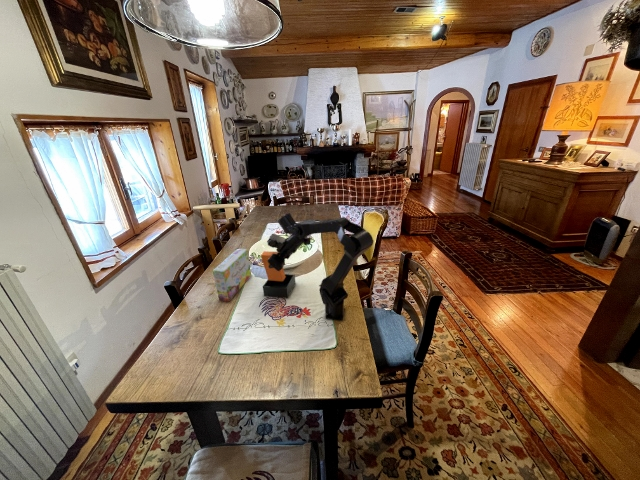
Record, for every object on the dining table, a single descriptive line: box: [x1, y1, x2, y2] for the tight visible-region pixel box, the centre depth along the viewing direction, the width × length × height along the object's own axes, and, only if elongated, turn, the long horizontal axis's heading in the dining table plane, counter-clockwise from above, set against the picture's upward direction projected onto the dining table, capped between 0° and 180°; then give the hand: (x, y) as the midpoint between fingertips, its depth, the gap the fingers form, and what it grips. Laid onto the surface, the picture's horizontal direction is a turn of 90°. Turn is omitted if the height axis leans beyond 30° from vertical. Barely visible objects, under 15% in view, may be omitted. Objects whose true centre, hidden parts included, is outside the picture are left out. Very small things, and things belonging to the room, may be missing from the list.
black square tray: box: [262, 273, 296, 299], centre depth 113 cm, size 11×11×5 cm
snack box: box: [212, 248, 252, 302], centre depth 114 cm, size 21×6×15 cm, turn 168°
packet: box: [260, 250, 286, 281], centre depth 107 cm, size 7×3×13 cm, turn 72°
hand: (270, 265), depth 107 cm, fingers closed on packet, 3 cm apart
